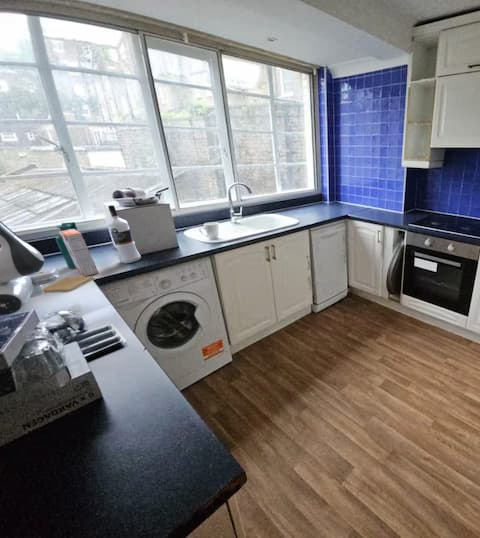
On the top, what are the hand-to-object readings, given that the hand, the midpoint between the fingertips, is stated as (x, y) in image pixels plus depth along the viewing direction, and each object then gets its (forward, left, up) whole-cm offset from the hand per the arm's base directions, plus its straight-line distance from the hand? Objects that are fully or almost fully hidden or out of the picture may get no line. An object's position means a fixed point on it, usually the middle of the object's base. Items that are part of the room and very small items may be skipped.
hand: (21, 274), depth 106 cm
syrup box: (-1, -1, -8) cm, 8 cm away
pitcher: (+48, +24, -15) cm, 56 cm away
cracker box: (+37, +12, -15) cm, 42 cm away
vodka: (+51, 0, -15) cm, 53 cm away
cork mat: (+22, +9, -15) cm, 28 cm away
